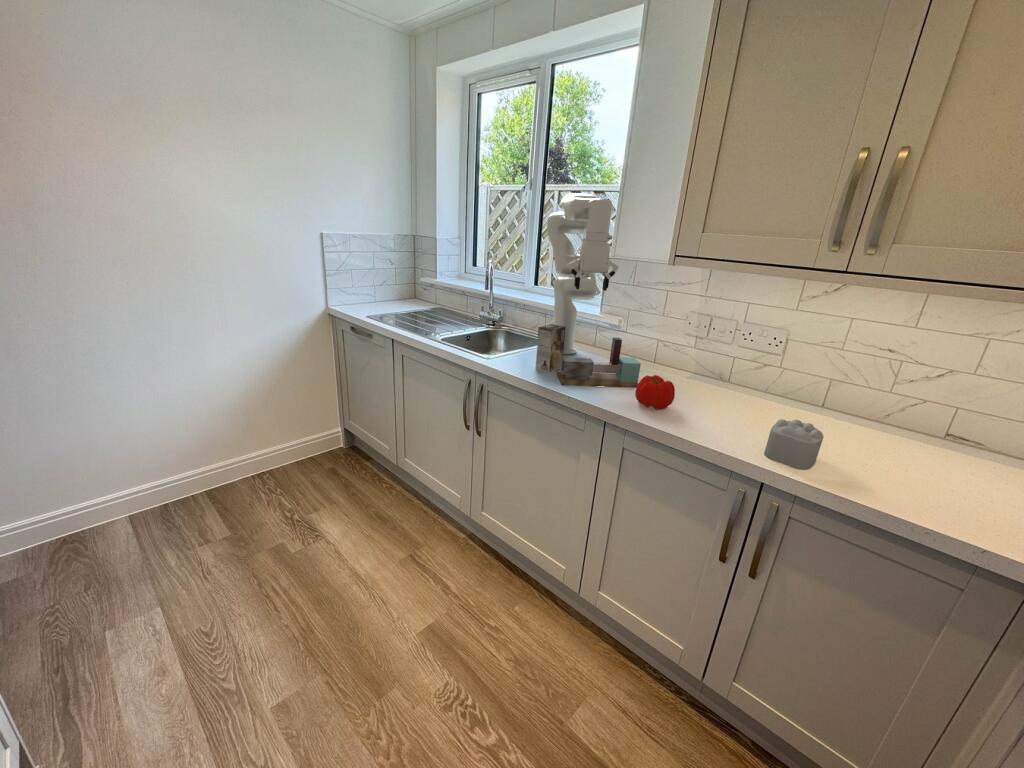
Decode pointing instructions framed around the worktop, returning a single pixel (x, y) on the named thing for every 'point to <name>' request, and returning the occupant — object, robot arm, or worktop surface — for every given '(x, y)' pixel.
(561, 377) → the sleeve base
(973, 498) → the worktop surface
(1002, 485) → the worktop surface
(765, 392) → the worktop surface
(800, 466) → the lumpy-topped squat cylinder
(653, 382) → the tomato
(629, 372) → the socket block
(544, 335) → the coffee box
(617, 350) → the grey l-shaped piece
